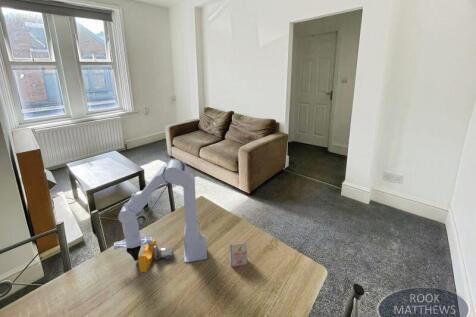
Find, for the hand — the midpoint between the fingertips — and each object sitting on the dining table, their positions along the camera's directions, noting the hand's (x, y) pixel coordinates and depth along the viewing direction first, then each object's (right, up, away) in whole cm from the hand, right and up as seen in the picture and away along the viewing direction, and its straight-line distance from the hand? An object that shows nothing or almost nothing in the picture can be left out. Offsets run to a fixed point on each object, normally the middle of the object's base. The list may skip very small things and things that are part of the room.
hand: (136, 258), depth 100 cm
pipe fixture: (+11, 0, +3) cm, 12 cm away
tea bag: (+43, -2, 0) cm, 43 cm away
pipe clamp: (+4, -1, +1) cm, 4 cm away
